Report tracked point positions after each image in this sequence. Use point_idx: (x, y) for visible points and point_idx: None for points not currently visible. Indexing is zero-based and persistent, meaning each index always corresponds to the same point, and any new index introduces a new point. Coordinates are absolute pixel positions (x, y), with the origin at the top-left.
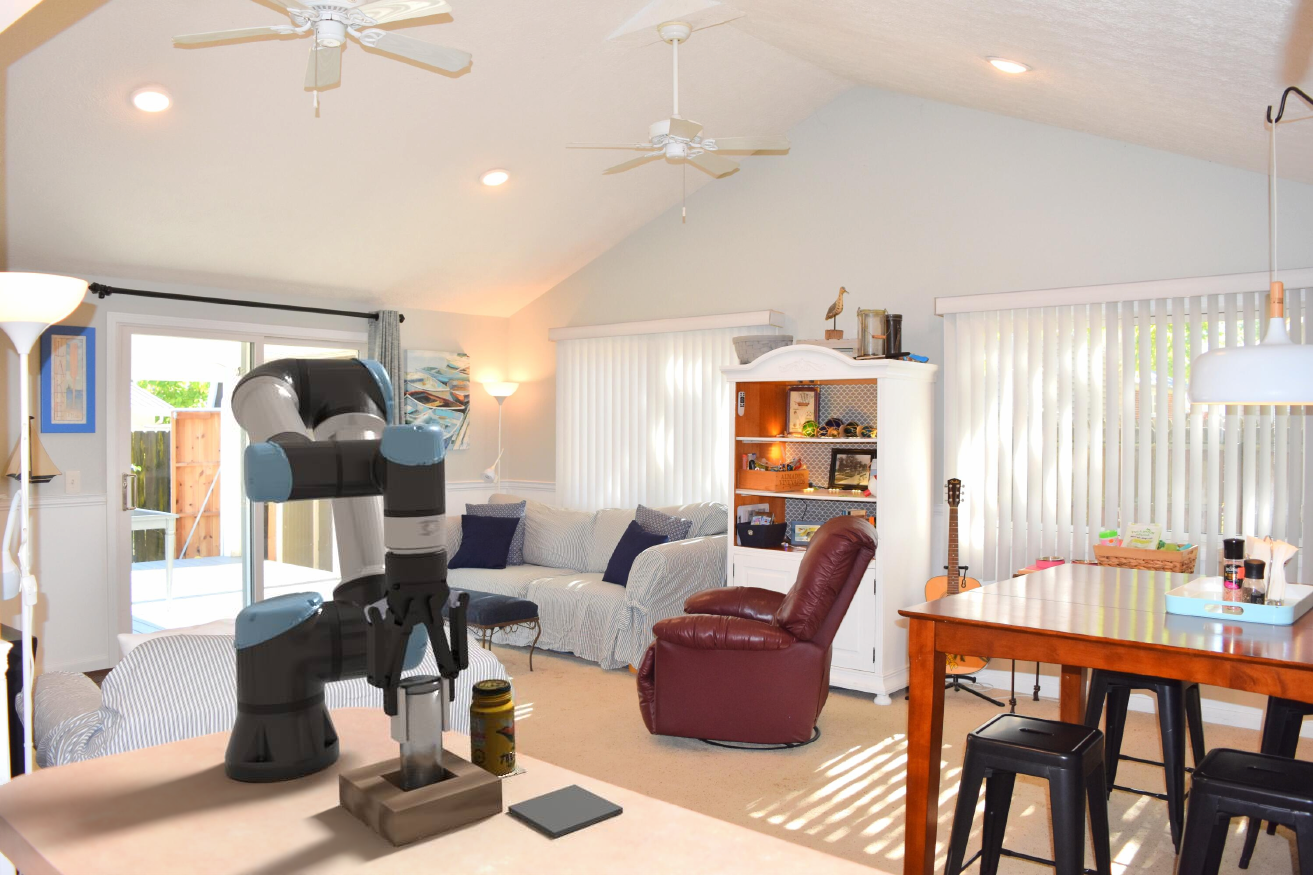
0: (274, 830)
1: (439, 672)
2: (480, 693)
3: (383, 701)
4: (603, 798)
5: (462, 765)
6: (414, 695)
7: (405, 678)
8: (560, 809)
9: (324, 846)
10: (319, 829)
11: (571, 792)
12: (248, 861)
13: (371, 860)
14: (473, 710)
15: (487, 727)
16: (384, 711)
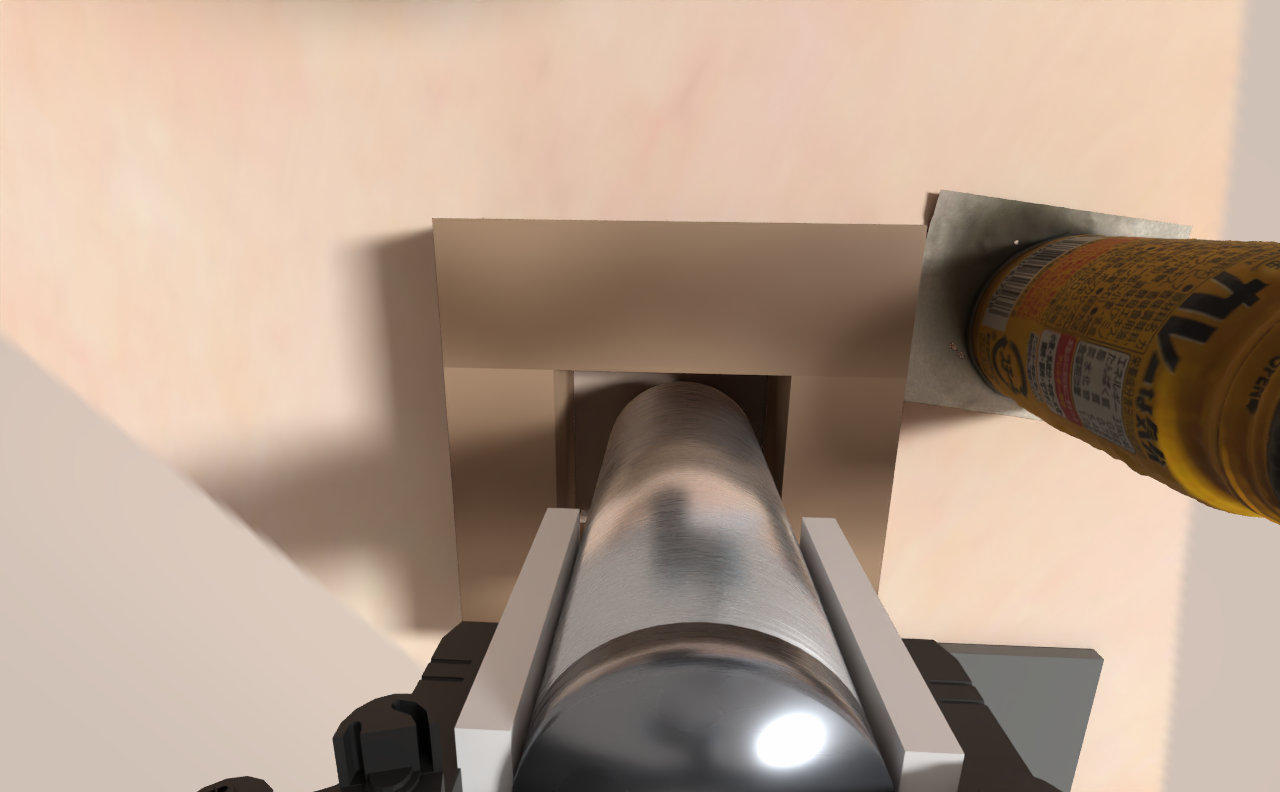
0: (242, 268)
1: (979, 789)
2: (1274, 482)
3: (419, 681)
4: (1071, 781)
5: (847, 506)
6: None
7: (644, 694)
8: None
9: (343, 481)
10: (362, 364)
11: (1047, 695)
12: (147, 423)
13: (420, 634)
14: (1156, 391)
15: (1111, 451)
16: (449, 637)
